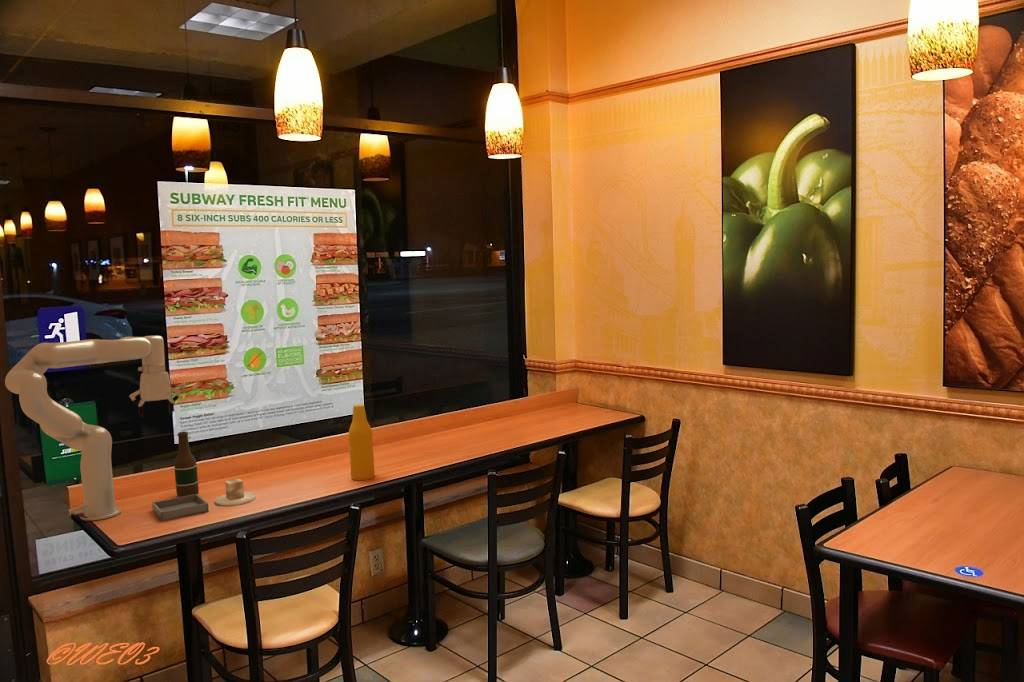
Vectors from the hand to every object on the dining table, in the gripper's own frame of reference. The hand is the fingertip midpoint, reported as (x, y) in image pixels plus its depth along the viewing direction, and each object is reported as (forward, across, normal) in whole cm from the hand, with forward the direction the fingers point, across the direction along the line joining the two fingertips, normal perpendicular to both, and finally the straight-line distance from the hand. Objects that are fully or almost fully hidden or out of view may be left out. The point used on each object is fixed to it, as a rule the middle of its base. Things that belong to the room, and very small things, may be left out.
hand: (156, 415), depth 285 cm
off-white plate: (+31, +22, -21) cm, 43 cm away
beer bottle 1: (+31, +9, -1) cm, 33 cm away
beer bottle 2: (+30, +70, -23) cm, 80 cm away
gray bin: (+31, +3, -22) cm, 38 cm away
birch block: (+30, +22, -21) cm, 42 cm away
